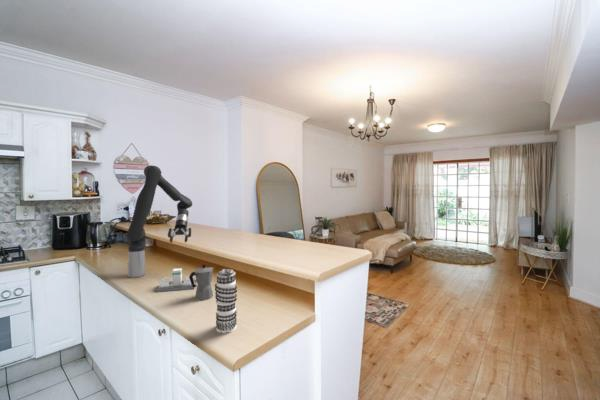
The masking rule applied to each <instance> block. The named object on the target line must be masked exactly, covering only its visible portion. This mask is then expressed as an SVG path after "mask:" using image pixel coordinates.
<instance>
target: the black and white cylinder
mask: <svg viewBox="0 0 600 400" xmlns="http://www.w3.org/2000/svg"><path fill="white" fill-rule="evenodd" d="M236 274H237V273H236V271H234V270H233V269H231V268H223V269H220V270H219V271H218V272H217V273H216V275H215V276H216V282H215V284H214V291H215V304H216V307H217V308H216V313H215V316H216V317H215V319H216V321H215V325H216V326H215V329H216V332H217V333H219V332H222V333H221V334H227V333H226V332H229V333H231V331H232V332H234V331H236V329H237V327H238V326H237V325H238V323H237V322H238V321H237V320H238V319H237V313H238V312H237V306H236V302H237V300H238V298H237V297H238V296H237V295H238V294H237V293H238V290H237V289H238V286H237V285H236V281H237V280H236ZM233 330H234V331H233Z"/></svg>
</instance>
